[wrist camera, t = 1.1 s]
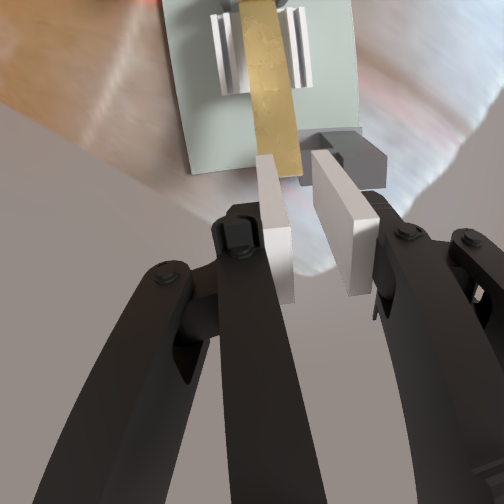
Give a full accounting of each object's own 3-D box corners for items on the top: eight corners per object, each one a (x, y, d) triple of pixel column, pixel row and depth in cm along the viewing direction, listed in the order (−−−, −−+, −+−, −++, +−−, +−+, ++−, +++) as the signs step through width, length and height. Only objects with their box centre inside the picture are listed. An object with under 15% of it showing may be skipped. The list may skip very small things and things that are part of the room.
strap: (230, -13, 22) (229, -22, 20) (275, -17, 22) (275, -26, 20) (254, 181, 24) (253, 178, 22) (308, 175, 23) (310, 173, 22)
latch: (288, 134, 33) (302, 161, 26) (354, 130, 33) (387, 156, 25) (290, 160, 35) (303, 194, 27) (354, 155, 35) (385, 188, 27)
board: (163, -8, 25) (139, -24, 18) (346, -24, 24) (373, -42, 17) (193, 171, 37) (180, 202, 30) (358, 155, 36) (385, 181, 29)
